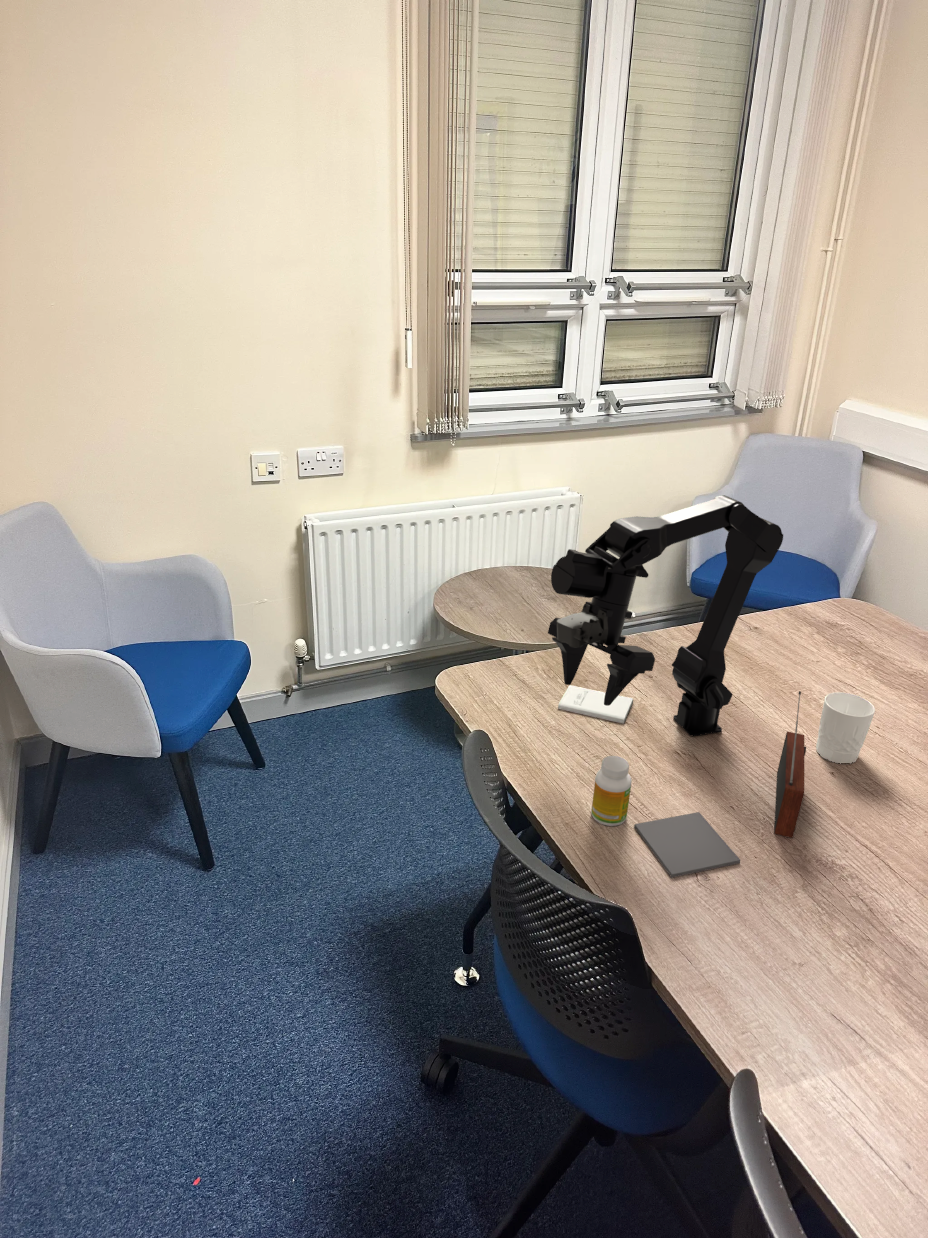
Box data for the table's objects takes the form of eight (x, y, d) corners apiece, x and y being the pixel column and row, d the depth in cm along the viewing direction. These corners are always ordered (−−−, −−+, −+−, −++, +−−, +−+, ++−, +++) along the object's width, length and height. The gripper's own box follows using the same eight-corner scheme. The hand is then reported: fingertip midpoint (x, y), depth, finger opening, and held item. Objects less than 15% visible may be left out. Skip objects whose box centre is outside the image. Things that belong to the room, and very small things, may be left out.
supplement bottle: (625, 829, 125) (633, 776, 121) (589, 824, 126) (596, 771, 121) (626, 807, 129) (634, 755, 125) (592, 802, 130) (598, 750, 126)
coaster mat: (698, 815, 128) (698, 812, 128) (739, 863, 119) (740, 860, 119) (634, 827, 125) (634, 824, 125) (671, 877, 116) (672, 874, 116)
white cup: (861, 747, 146) (875, 698, 142) (860, 771, 140) (874, 721, 136) (813, 736, 149) (826, 687, 145) (810, 759, 143) (823, 709, 139)
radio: (795, 840, 124) (817, 756, 117) (773, 835, 125) (794, 751, 118) (796, 771, 140) (815, 693, 133) (777, 767, 141) (795, 690, 134)
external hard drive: (623, 726, 151) (557, 711, 155) (632, 705, 158) (569, 690, 162) (624, 719, 151) (558, 703, 155) (633, 697, 158) (569, 683, 162)
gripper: (534, 581, 132) (512, 674, 136) (617, 615, 118) (590, 718, 121) (584, 586, 139) (562, 675, 142) (668, 618, 125) (642, 716, 128)
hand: (586, 694), depth 133 cm, fingers open, 9 cm apart
